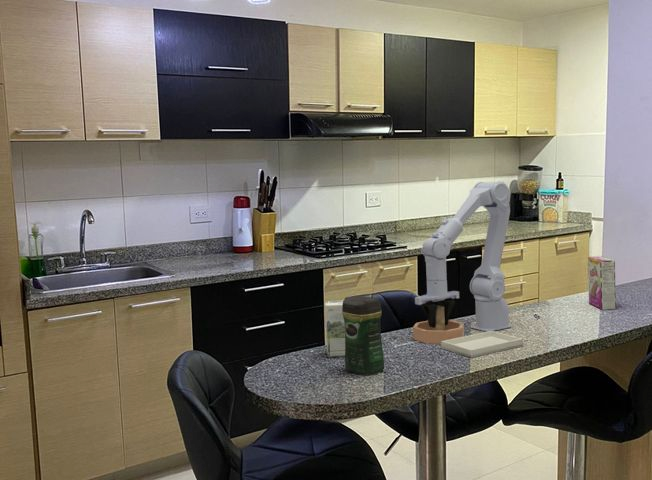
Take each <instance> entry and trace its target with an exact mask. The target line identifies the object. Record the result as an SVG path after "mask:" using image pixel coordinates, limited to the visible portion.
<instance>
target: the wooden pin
mask: <svg viewBox="0 0 652 480" xmlns="http://www.w3.org/2000/svg"><path fill="white" fill-rule="evenodd" d="M432 330H442V331H445V317H444V306H439V305H438V307H437V311H436V327H435V328H433V327H432Z"/></svg>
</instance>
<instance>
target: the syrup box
mask: <svg viewBox="0 0 652 480" xmlns="http://www.w3.org/2000/svg"><path fill="white" fill-rule="evenodd" d="M343 301H344V299H343V300H328V301H327V300H326V301H324V314H325V315H324V316H325V318H324V319H325V331H326V332H325V333H326V353H327V357H328V358H341V357H342V358H343V357H344V358H345V324H344V318H343V314H342V305H343Z"/></svg>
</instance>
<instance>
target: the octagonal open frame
mask: <svg viewBox="0 0 652 480" xmlns="http://www.w3.org/2000/svg"><path fill="white" fill-rule="evenodd" d="M464 336H465V324H464V322H459V321H455V320H452V319H449V321H448V325H445V331H442V330H432V327H429V323H428V320H425V321H419V322H416V323H415V324H414V325H413V327H412V338H413V340H415V341H417V342H421V343H422V344H423V343H424V344H434V345H436V344H439V345H440V344H441V341H445V340H450V339H454V338H459V337H464Z"/></svg>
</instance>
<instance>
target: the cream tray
mask: <svg viewBox="0 0 652 480" xmlns="http://www.w3.org/2000/svg"><path fill="white" fill-rule="evenodd" d="M520 347H524V338H521V337H517V336H513V335H510V334H507V333H501V332H498V331H496V330H495V331H488V332H486V331H482V332H480V333H479V332H478V333H474V334H470V335H469V334H468V335H464V337H459V338H454V339H450V340H445V341H441V349H442V350H445V351H449V352H451V353H454V354H458V355H461V356H464V357H467V358H470V359H473V358H477V357H478V358H479V357H482V356H486V355H491V354H495V353H499V352H502V351H503V352H504V351H508V350H512V349H515V348H520Z"/></svg>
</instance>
